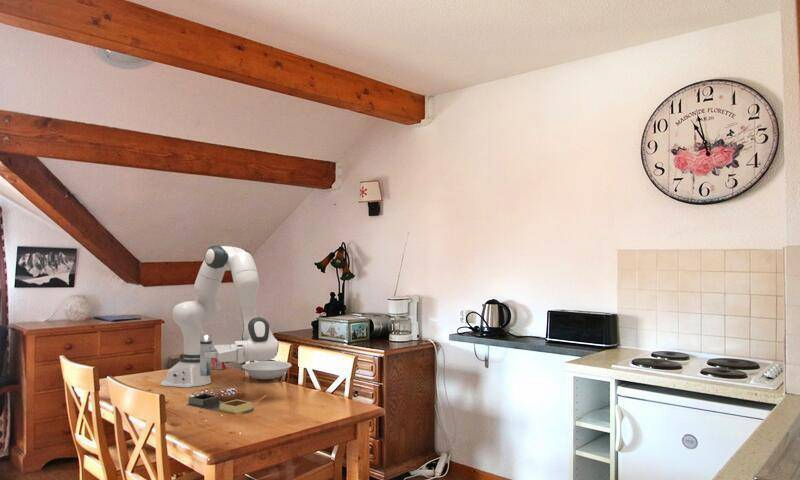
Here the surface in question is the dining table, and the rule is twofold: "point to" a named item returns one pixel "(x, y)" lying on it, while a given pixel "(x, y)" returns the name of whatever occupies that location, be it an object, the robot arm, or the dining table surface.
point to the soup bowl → (266, 369)
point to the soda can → (218, 364)
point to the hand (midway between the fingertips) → (203, 353)
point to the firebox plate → (220, 404)
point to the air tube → (204, 347)
